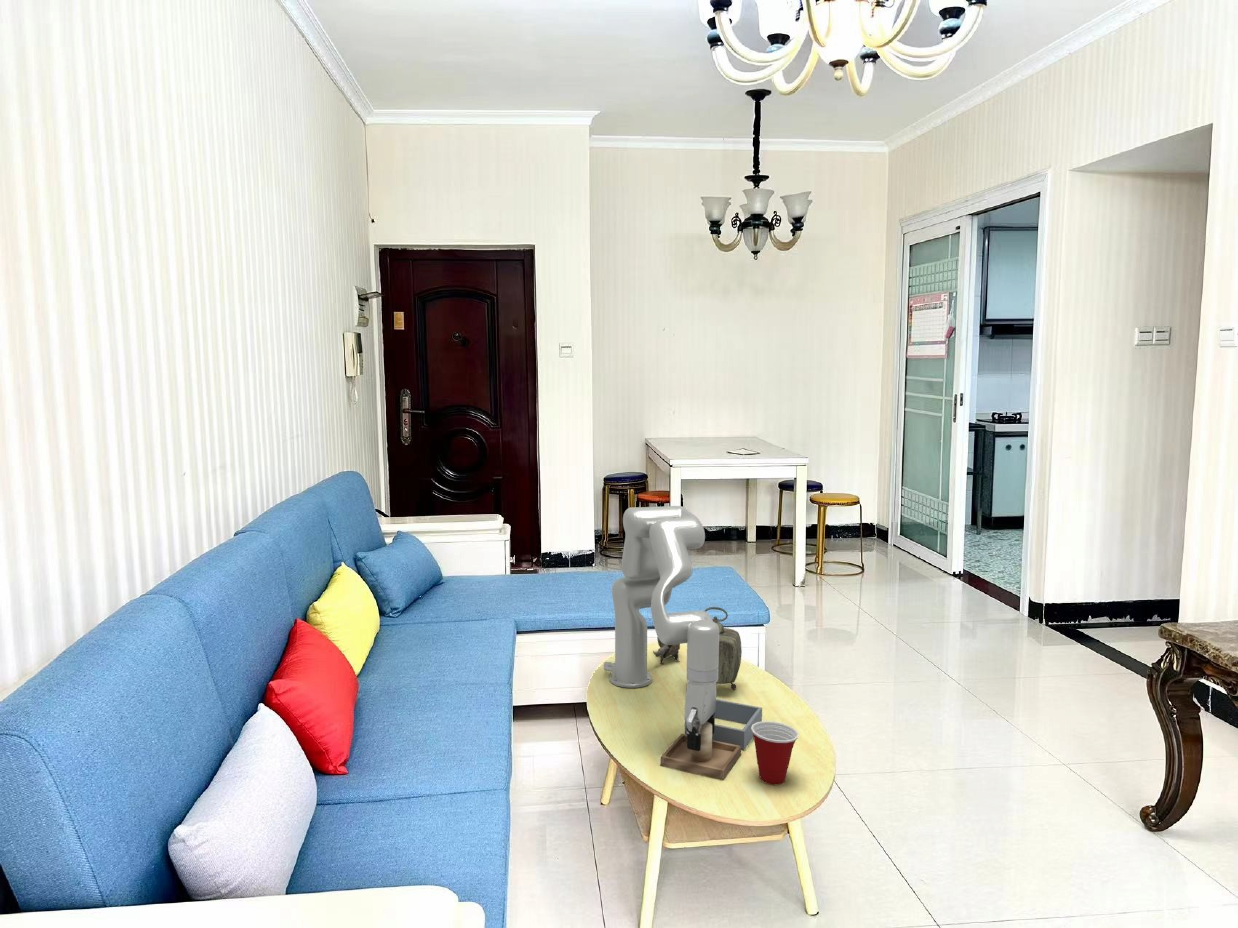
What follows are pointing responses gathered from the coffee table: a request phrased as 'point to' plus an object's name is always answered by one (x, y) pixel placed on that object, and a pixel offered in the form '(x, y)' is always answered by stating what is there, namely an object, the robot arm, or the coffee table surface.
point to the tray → (715, 768)
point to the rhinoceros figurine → (667, 651)
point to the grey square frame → (735, 714)
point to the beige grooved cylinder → (704, 744)
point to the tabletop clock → (728, 652)
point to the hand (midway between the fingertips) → (701, 740)
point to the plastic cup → (773, 749)
